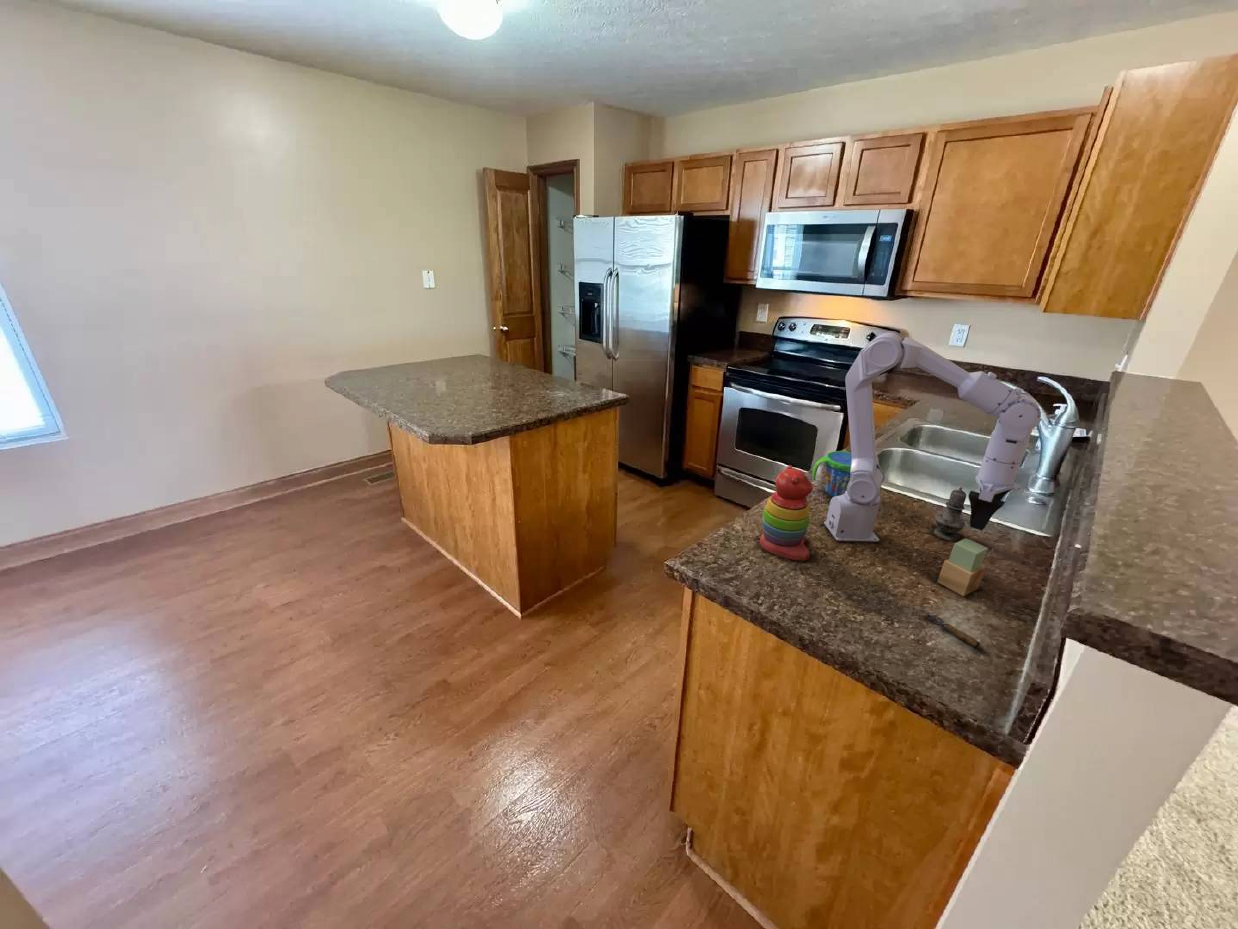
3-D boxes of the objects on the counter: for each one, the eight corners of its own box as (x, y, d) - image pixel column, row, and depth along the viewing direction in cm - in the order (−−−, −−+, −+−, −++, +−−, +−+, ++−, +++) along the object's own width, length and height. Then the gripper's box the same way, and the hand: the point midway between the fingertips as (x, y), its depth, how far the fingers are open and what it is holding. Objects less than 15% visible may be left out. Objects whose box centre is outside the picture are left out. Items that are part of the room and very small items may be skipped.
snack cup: (869, 489, 137) (878, 454, 132) (876, 507, 127) (885, 470, 123) (808, 481, 140) (814, 447, 136) (809, 498, 131) (817, 462, 127)
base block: (963, 596, 96) (971, 574, 94) (937, 582, 100) (944, 560, 98) (977, 588, 98) (986, 566, 96) (951, 574, 102) (958, 553, 100)
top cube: (970, 572, 94) (976, 553, 93) (948, 561, 97) (954, 543, 96) (981, 566, 96) (988, 548, 94) (959, 555, 99) (966, 538, 98)
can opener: (979, 647, 83) (981, 642, 83) (970, 651, 82) (972, 645, 82) (929, 613, 91) (931, 608, 90) (920, 616, 90) (922, 611, 90)
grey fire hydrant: (959, 544, 112) (975, 495, 108) (929, 535, 116) (943, 487, 111) (962, 533, 117) (978, 486, 112) (933, 525, 120) (947, 478, 115)
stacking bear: (810, 562, 105) (826, 484, 97) (759, 556, 106) (771, 478, 99) (804, 535, 114) (818, 462, 107) (757, 530, 116) (768, 457, 109)
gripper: (1022, 476, 89) (997, 542, 94) (1033, 453, 99) (1010, 515, 104) (975, 464, 93) (954, 528, 99) (990, 444, 103) (970, 503, 109)
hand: (980, 521), depth 102 cm, fingers open, 7 cm apart
